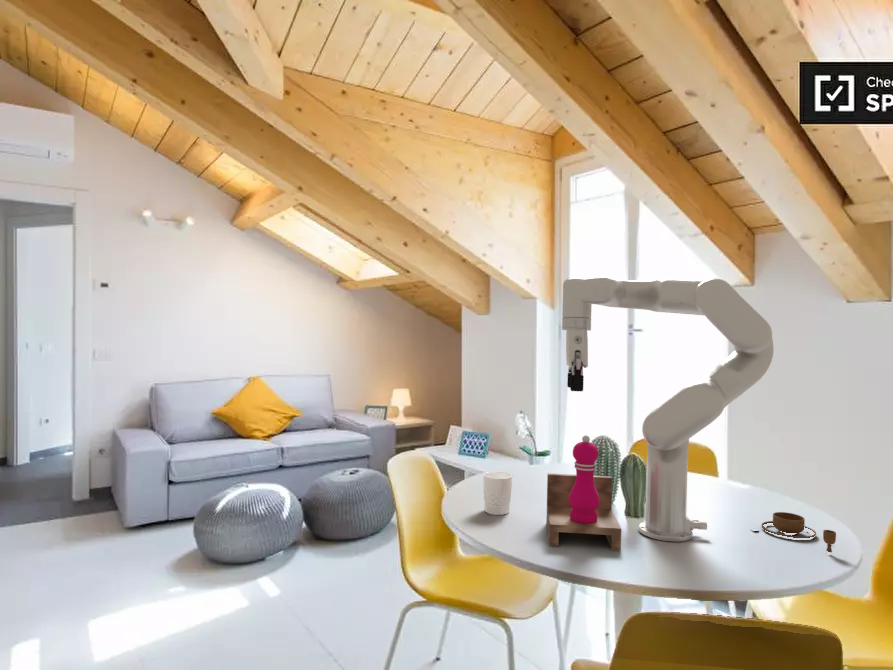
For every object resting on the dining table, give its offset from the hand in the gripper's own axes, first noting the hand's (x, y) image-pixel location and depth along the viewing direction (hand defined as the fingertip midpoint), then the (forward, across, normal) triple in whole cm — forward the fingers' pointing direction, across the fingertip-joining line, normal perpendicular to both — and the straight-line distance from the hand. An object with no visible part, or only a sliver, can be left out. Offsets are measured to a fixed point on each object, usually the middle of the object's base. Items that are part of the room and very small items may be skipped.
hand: (575, 389), depth 157 cm
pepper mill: (+30, -17, -1) cm, 34 cm away
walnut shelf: (+34, -14, -1) cm, 37 cm away
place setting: (+35, -6, -52) cm, 63 cm away
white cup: (+34, +2, +20) cm, 40 cm away
